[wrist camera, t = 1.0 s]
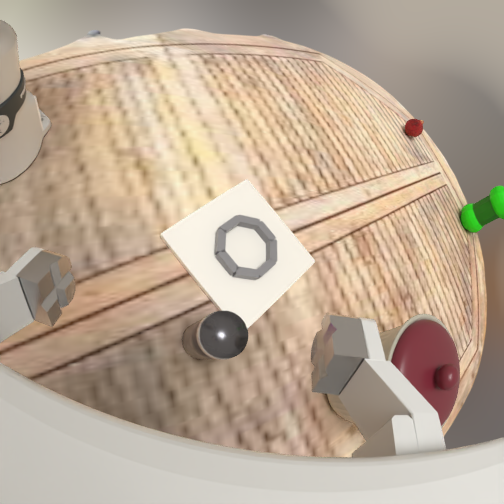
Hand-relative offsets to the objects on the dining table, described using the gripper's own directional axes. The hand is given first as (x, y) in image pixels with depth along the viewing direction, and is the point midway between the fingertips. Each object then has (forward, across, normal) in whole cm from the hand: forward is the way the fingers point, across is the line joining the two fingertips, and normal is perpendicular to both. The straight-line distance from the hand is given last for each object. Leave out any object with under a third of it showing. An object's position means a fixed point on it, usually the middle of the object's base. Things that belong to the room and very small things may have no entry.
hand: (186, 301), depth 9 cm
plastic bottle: (+77, -69, +19) cm, 105 cm away
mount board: (+34, 0, +19) cm, 39 cm away
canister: (+24, -22, +35) cm, 48 cm away
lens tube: (+20, +3, +26) cm, 34 cm away
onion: (+92, -43, 0) cm, 101 cm away
